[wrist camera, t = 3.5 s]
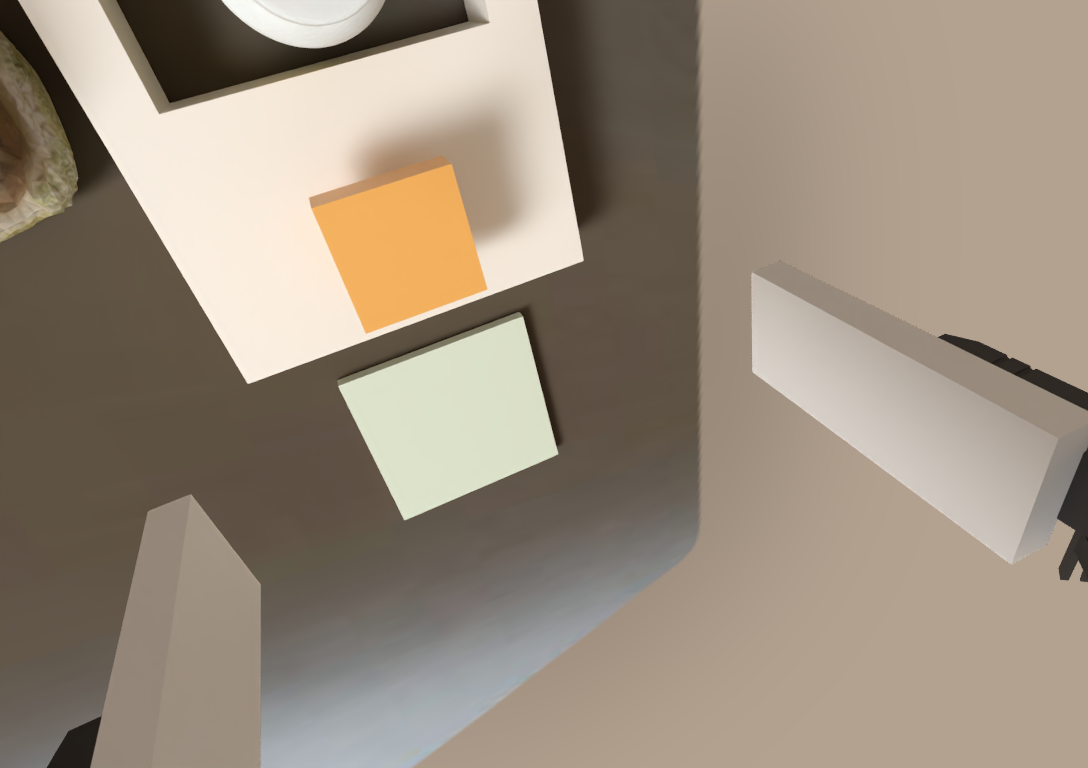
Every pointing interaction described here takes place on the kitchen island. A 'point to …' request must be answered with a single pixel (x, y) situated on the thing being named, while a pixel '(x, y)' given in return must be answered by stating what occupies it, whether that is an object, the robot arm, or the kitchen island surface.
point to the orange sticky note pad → (401, 242)
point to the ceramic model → (30, 148)
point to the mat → (453, 414)
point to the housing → (325, 163)
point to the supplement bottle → (307, 19)
